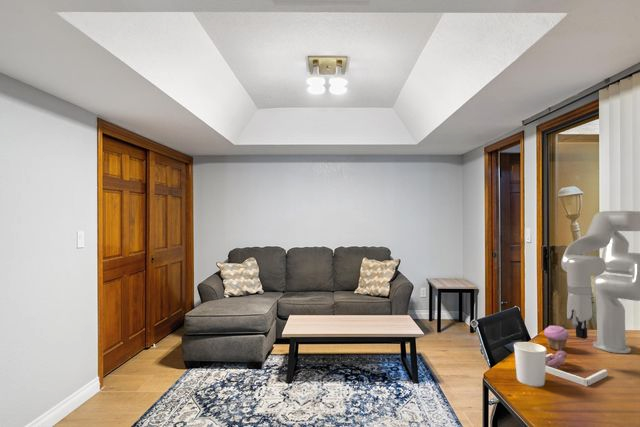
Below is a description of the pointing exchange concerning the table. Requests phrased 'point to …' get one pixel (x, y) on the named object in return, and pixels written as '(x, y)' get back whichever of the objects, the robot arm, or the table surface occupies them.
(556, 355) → the video game controller
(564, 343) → the cupcake
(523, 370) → the candle holder
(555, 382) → the table surface
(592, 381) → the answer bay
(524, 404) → the table surface
